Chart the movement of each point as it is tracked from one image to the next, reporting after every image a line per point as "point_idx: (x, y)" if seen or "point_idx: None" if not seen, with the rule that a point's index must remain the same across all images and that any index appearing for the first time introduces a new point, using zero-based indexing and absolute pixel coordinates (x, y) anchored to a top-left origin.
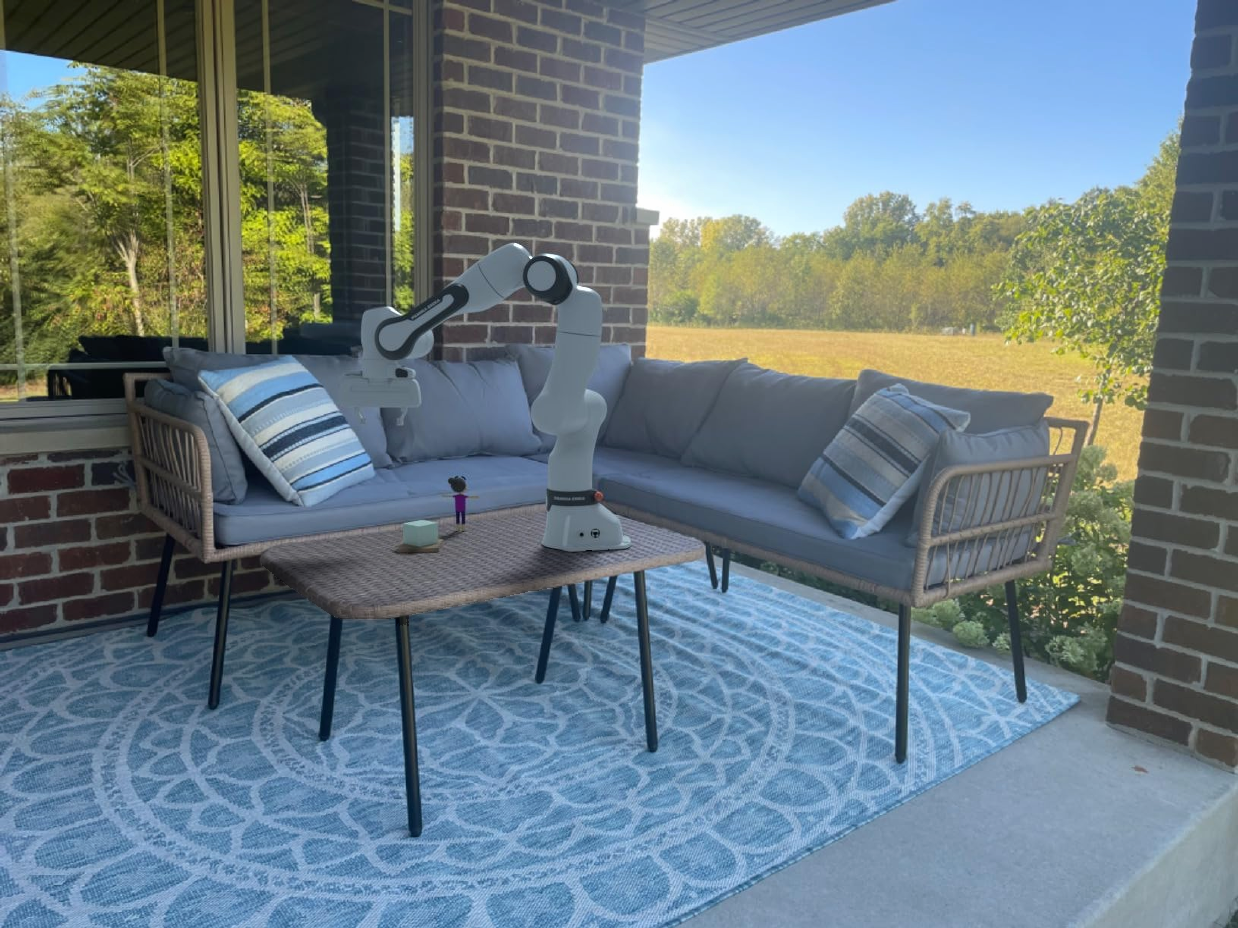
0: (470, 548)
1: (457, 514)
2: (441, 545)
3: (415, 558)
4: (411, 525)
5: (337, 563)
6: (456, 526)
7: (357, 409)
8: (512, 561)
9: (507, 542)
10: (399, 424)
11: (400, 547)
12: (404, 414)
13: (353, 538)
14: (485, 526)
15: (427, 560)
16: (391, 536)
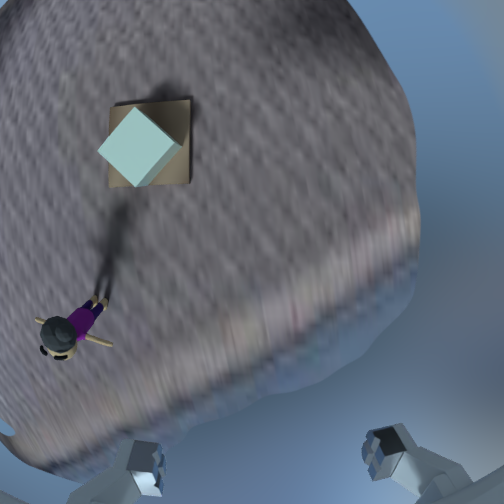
0: (63, 142)
1: (92, 309)
2: None
3: (151, 58)
4: (151, 121)
5: (287, 31)
6: (104, 302)
7: (450, 484)
8: (17, 64)
9: (17, 196)
10: (140, 441)
11: (182, 108)
12: (87, 483)
13: (301, 240)
14: None
15: (130, 47)
16: (226, 256)
